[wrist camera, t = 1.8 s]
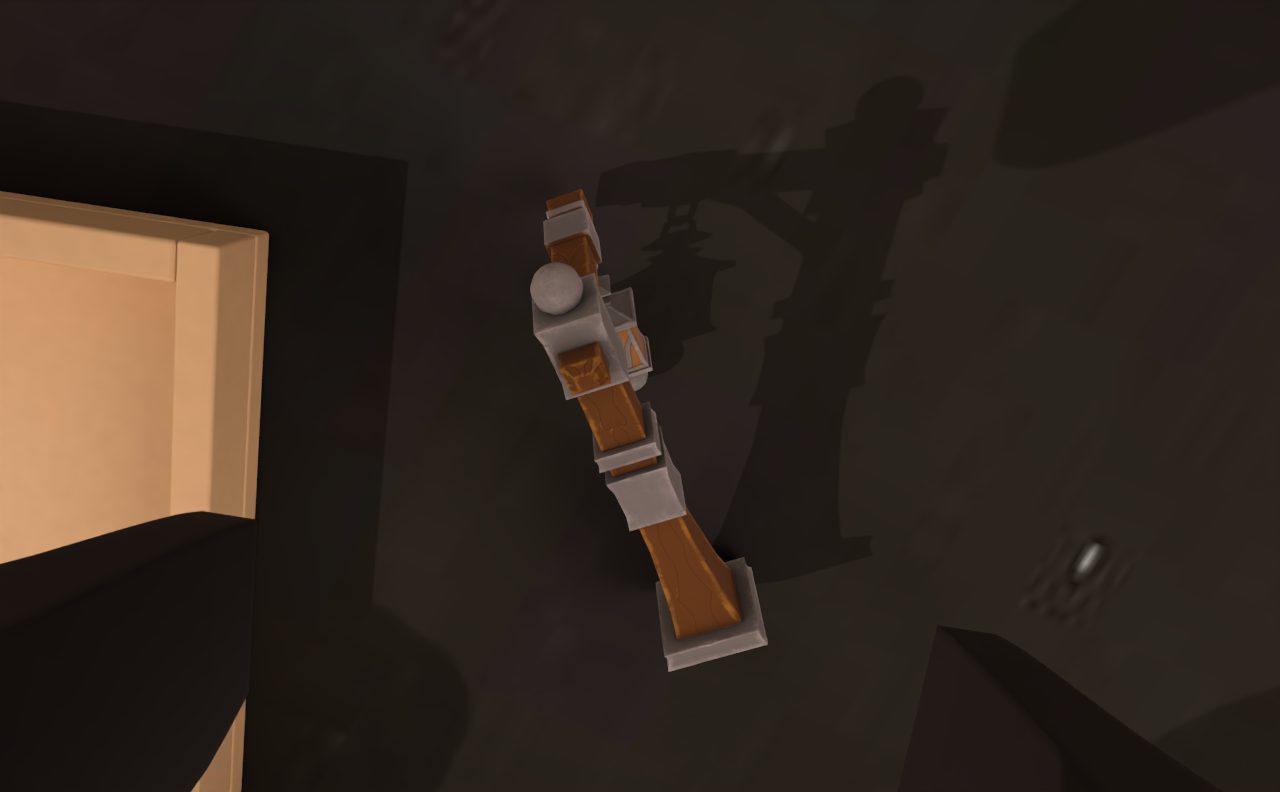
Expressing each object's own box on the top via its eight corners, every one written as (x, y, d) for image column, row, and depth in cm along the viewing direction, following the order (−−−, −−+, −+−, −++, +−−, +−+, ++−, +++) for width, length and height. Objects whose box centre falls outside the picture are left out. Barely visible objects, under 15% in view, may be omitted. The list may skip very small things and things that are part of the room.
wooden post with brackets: (596, 128, 18) (614, 279, 14) (731, 476, 22) (770, 653, 19) (490, 166, 18) (482, 323, 14) (647, 501, 23) (669, 681, 19)
